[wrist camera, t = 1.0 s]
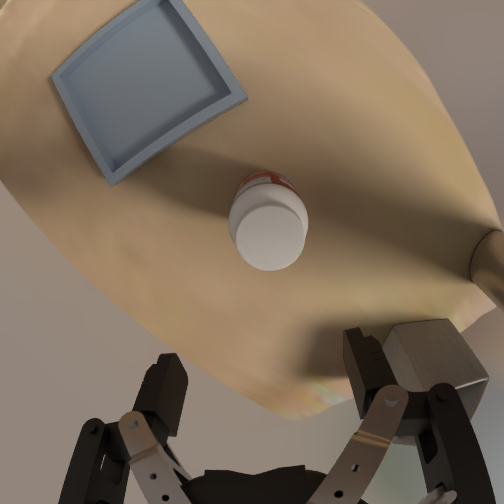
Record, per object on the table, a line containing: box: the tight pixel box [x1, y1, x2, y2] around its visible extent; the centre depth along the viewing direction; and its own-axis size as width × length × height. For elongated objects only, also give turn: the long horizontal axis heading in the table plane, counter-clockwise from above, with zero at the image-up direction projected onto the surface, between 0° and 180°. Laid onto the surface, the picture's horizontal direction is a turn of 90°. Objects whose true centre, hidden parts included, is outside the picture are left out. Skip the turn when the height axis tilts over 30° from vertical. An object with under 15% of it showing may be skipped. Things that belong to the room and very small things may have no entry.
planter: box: [382, 319, 489, 446], centre depth 28 cm, size 16×8×19 cm, turn 132°
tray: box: [51, 0, 248, 186], centre depth 22 cm, size 16×16×2 cm
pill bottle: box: [228, 171, 308, 271], centre depth 24 cm, size 6×6×11 cm
